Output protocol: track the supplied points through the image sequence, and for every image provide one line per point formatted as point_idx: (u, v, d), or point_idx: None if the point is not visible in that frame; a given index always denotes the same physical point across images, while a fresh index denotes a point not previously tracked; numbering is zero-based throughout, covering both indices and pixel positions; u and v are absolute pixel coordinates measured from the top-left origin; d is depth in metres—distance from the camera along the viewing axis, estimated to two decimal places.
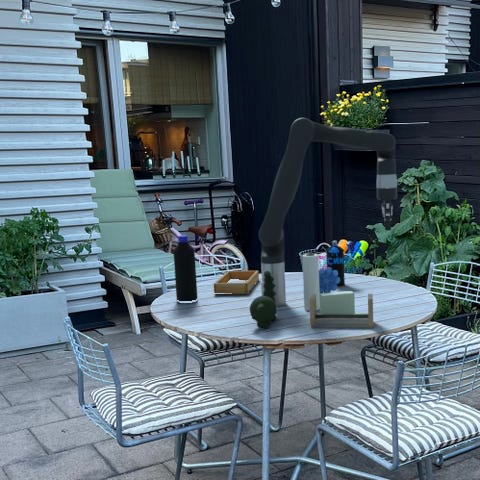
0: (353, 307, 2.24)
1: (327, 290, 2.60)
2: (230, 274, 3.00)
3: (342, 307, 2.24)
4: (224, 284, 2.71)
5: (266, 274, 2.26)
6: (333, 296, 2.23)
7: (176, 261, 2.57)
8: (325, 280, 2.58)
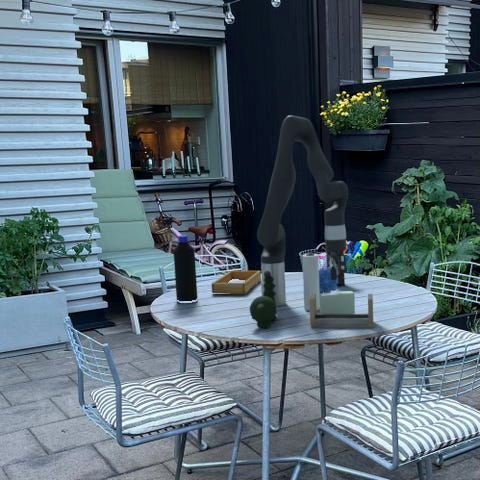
0: (353, 307, 2.24)
1: (327, 290, 2.60)
2: (232, 274, 3.00)
3: (342, 307, 2.24)
4: (222, 284, 2.71)
5: (266, 274, 2.26)
6: (333, 296, 2.23)
7: (176, 261, 2.57)
8: (325, 280, 2.58)
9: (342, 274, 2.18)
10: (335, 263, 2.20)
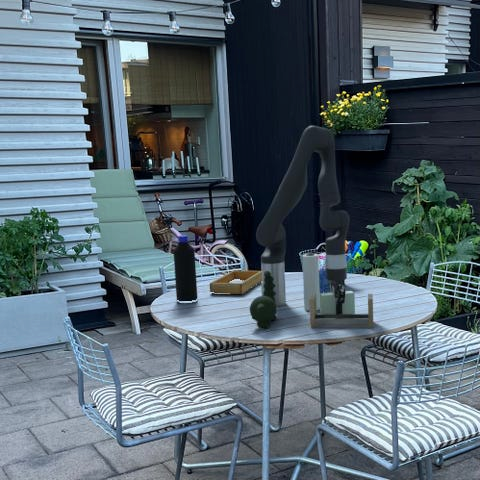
0: (353, 307, 2.24)
1: (327, 290, 2.60)
2: (235, 274, 3.00)
3: (342, 307, 2.24)
4: (219, 284, 2.71)
5: (266, 274, 2.26)
6: (333, 296, 2.23)
7: (176, 261, 2.57)
8: (325, 280, 2.58)
9: (340, 305, 2.22)
10: (334, 293, 2.22)
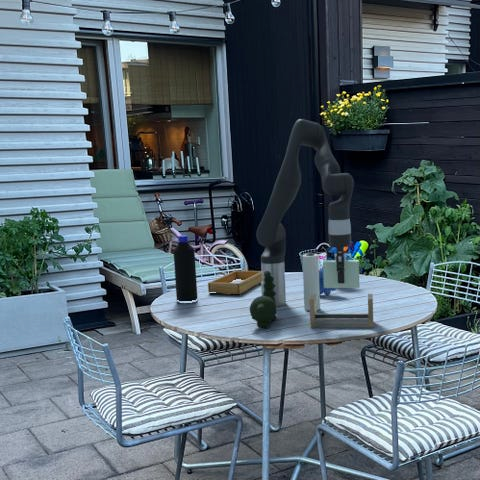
0: (357, 277, 2.11)
1: (327, 290, 2.60)
2: (237, 274, 3.00)
3: (345, 276, 2.11)
4: (217, 284, 2.72)
5: (266, 274, 2.26)
6: None
7: (176, 261, 2.57)
8: None
9: (341, 273, 2.11)
10: (336, 261, 2.11)
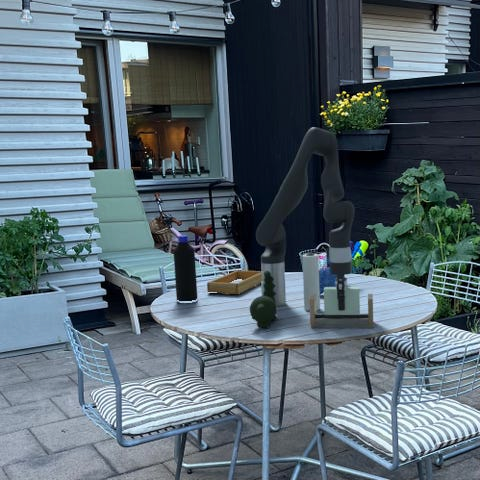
0: (358, 304, 2.12)
1: None
2: (238, 273, 3.00)
3: (346, 303, 2.13)
4: (216, 283, 2.72)
5: (266, 274, 2.26)
6: None
7: (176, 261, 2.57)
8: (325, 280, 2.58)
9: (341, 301, 2.12)
10: (336, 288, 2.12)
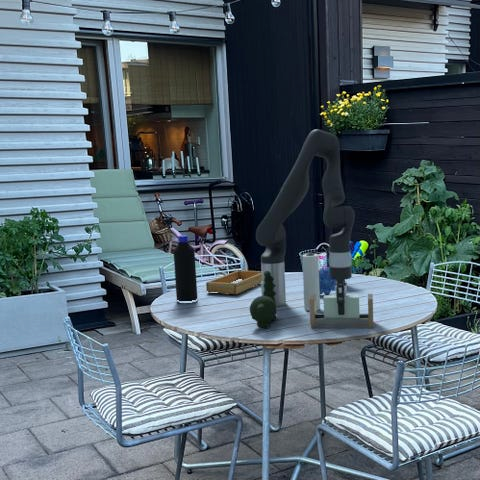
0: (357, 312, 2.12)
1: (327, 290, 2.60)
2: (240, 273, 3.00)
3: (345, 312, 2.13)
4: (215, 283, 2.73)
5: (266, 274, 2.26)
6: (335, 299, 2.13)
7: (176, 261, 2.57)
8: (325, 280, 2.58)
9: (341, 305, 2.11)
10: (336, 292, 2.12)
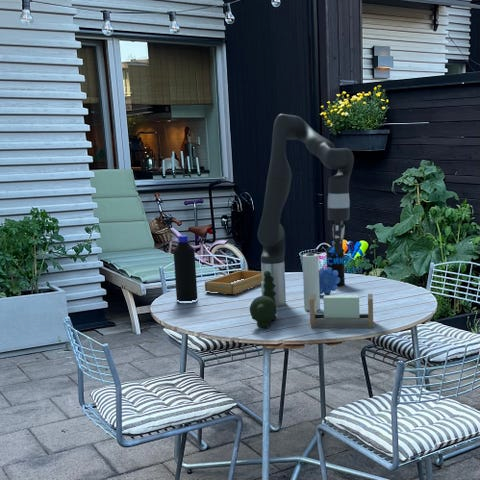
0: (357, 313, 2.12)
1: (327, 290, 2.60)
2: (242, 273, 3.00)
3: (345, 312, 2.13)
4: (213, 283, 2.73)
5: (266, 274, 2.26)
6: (335, 299, 2.13)
7: (176, 261, 2.57)
8: (325, 280, 2.58)
9: (338, 244, 2.13)
10: None
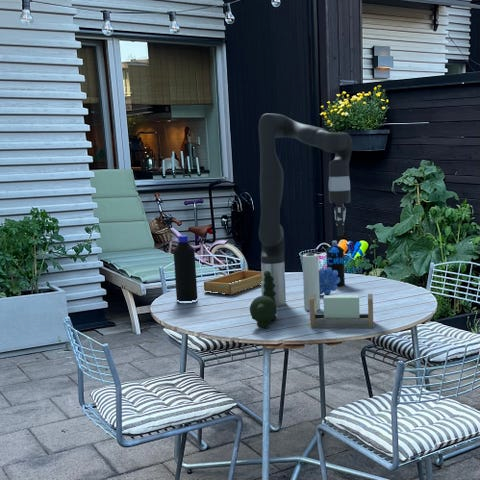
0: (357, 313, 2.12)
1: (327, 290, 2.60)
2: (244, 273, 3.00)
3: (345, 312, 2.13)
4: (212, 283, 2.74)
5: (266, 274, 2.26)
6: (335, 299, 2.13)
7: (176, 261, 2.57)
8: (325, 280, 2.58)
9: (340, 226, 2.17)
10: (335, 214, 2.19)
